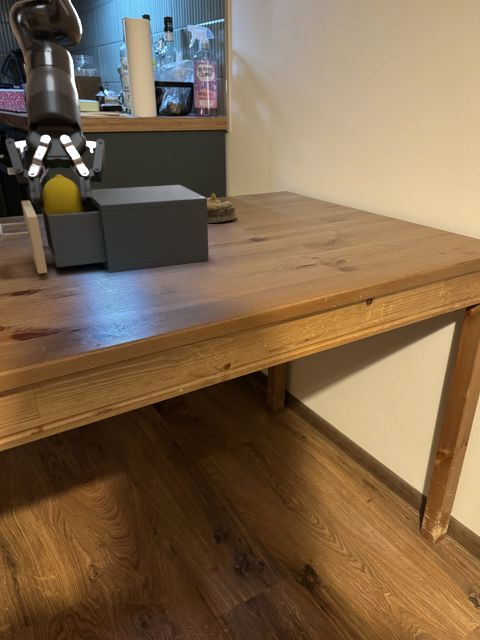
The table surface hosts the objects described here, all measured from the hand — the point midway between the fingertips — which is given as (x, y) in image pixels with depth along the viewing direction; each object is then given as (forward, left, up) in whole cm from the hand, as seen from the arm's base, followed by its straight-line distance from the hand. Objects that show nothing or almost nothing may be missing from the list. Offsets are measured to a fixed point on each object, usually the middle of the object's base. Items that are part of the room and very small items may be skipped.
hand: (62, 203), depth 71 cm
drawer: (0, +2, -8) cm, 9 cm away
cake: (+32, +23, -10) cm, 41 cm away
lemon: (0, +2, -4) cm, 5 cm away
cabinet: (+12, +2, -9) cm, 16 cm away
